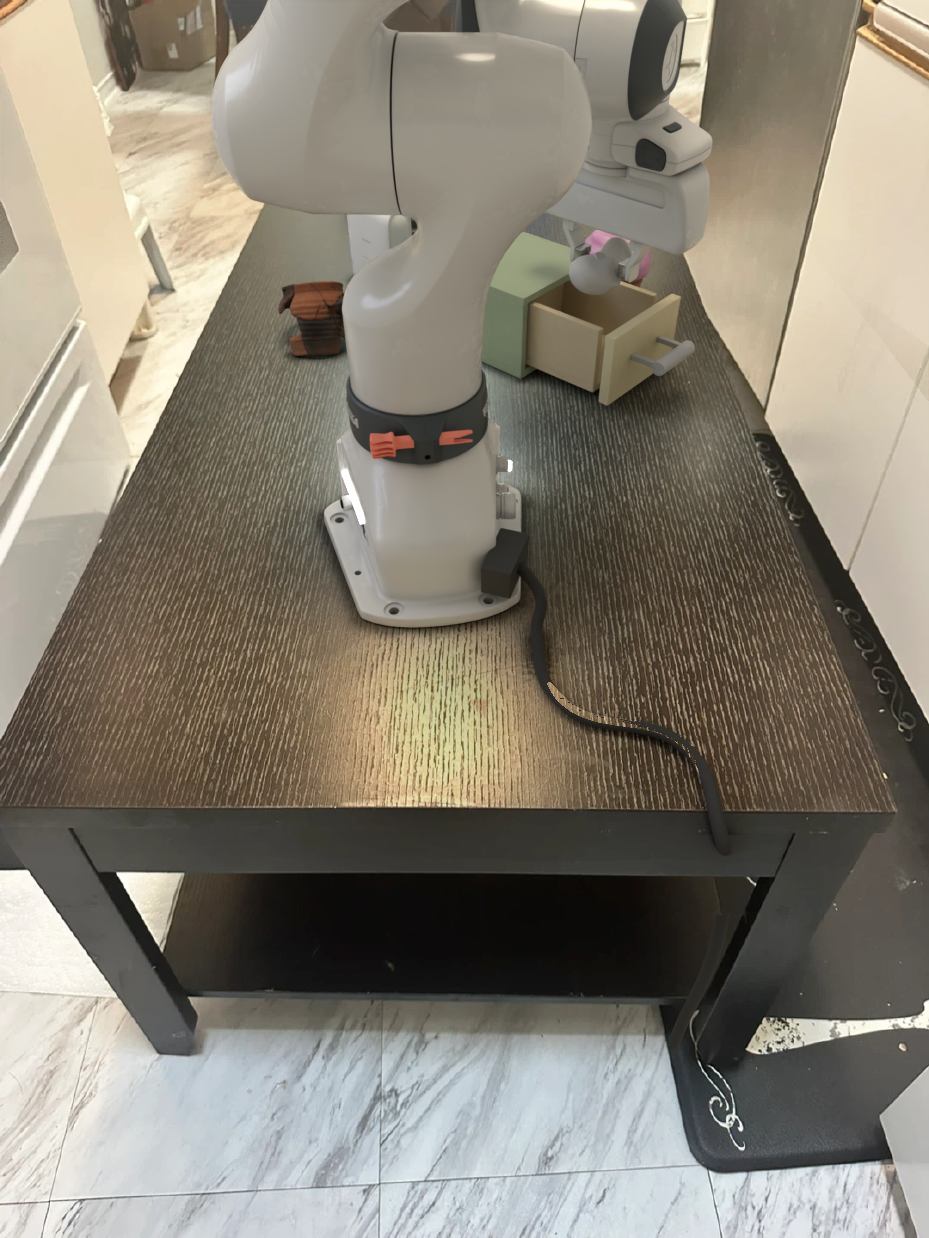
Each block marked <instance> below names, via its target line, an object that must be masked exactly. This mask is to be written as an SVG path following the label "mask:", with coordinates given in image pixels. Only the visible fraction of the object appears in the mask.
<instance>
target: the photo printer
mask: <svg viewBox="0 0 929 1238" xmlns="http://www.w3.org/2000/svg"><path fill="white" fill-rule="evenodd" d="M346 220H347V221H346V222H347V228H348V238H349V248H350V257H351V265H352V272H353V276H354V275H355V274H356V273H357V272H358V271H359V270H360V269H361V268H362V267H363V266H364V265H365V264H366V263H368V262H369V261H371V260H372V259H373V258H375V257H377V256H378V255H380V254H382V253H384V252H386V251H388V250H390V249H392V248H394V247H396V246H398V245H400V244H402V243H403V242H405V241H406V240H407V239H409V238H410V237H411V236H412V230H411V218H410V217H404V216H403V215H346Z"/></svg>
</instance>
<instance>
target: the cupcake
mask: <svg viewBox="0 0 929 1238" xmlns="http://www.w3.org/2000/svg"><path fill="white" fill-rule="evenodd" d="M613 237H619V236H615V235H612V234H609V233H606V232H603V231H600V230H597V229H595V230H593V232H592V233H591V234H589V235H588V237H587V238H586V239H585V243H588V244H590V245H591V252H590V254H595V253H596V252H600V251H601V250H602V248H603V246H604V244H605V243H606V242H607V241H608V240H609V239H611V238H613ZM619 238H622V237H619ZM622 239H625V238H622ZM625 240H626V241H627V242H628V244H629V246H630V240H628V239H625ZM633 253H634V251H632V254H633ZM651 253H652V251H651V249H650V250H649V252H648V253H647V254H646V256H645V257H644V258H643V260H642V261H641V262H640V265H639V272H638V276H637V278H636V279H635V280H633V281H632V282H627V281H624V280H620V281H622V282H625V283H628V284H631V285H634V286H637V287H639V288H641V285H642V282H643V279H644V278H646V277H647V276H648V274H649V272H650V267H651V259H652V254H651Z"/></svg>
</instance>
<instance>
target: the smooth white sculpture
mask: <svg viewBox="0 0 929 1238" xmlns="http://www.w3.org/2000/svg"><path fill="white" fill-rule="evenodd" d="M629 247H630V246H629V244H628V242H627V241H626V240H625V239H622V238H619V237H613V238H611V239H609V240H608V241H607V242H606V243H605V244H604V246H603V248H602V250H601V251H600V252H596V253H595V254H589V255H584V256H581V257H578V258H577V259H575V260H574V261H573V262H572V264H571V266H570V269H569V277H570V280H571V282H572V284H573V285H574V286H575V287H576V288H577V289H578V290H579V291H581V292H583V293H586V294H591V295H602V294H604V293H606V292H607V291H608V290H609V289H612V288H617V287H618V286H620V283H621V281H620V280H621V279H619V278H617V273H618V272H619V271H618V264H619V263H620V262H621V261H625V259H627V258H628V257H629V258H630V257H631V255H632V251H631V250H630V249H629Z"/></svg>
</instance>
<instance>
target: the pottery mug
mask: <svg viewBox="0 0 929 1238" xmlns="http://www.w3.org/2000/svg"><path fill="white" fill-rule="evenodd" d="M281 292H282V298H281V299H280V300H279V303H278V308H277V311H278V314H279V315H282V314H283V313H284V312H285V310H288V309H289V312H290V314H291V316H292V317H294V318H295V319H296V323H297V325H298V328H299V331H300V333H299V334H298V335H294V336H289V338H288V341H289V345H290V348H291V350H292V354H293V356H294V357H295V356H297V357H299V356H302V357H303V356H312V355H316V356H324V355H337V354H340V351H341V350H340V344H341V339H342V340H344V341H345V342H346V340H345V331H344V323H343V314H342V303H343V297H344V293H345V291H344V283H343V282H341V281H334V280H319V281H311V282H309V281H308V282H306V281H305V282H299V283H292V284H288V285H286V286H282V287H281Z"/></svg>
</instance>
